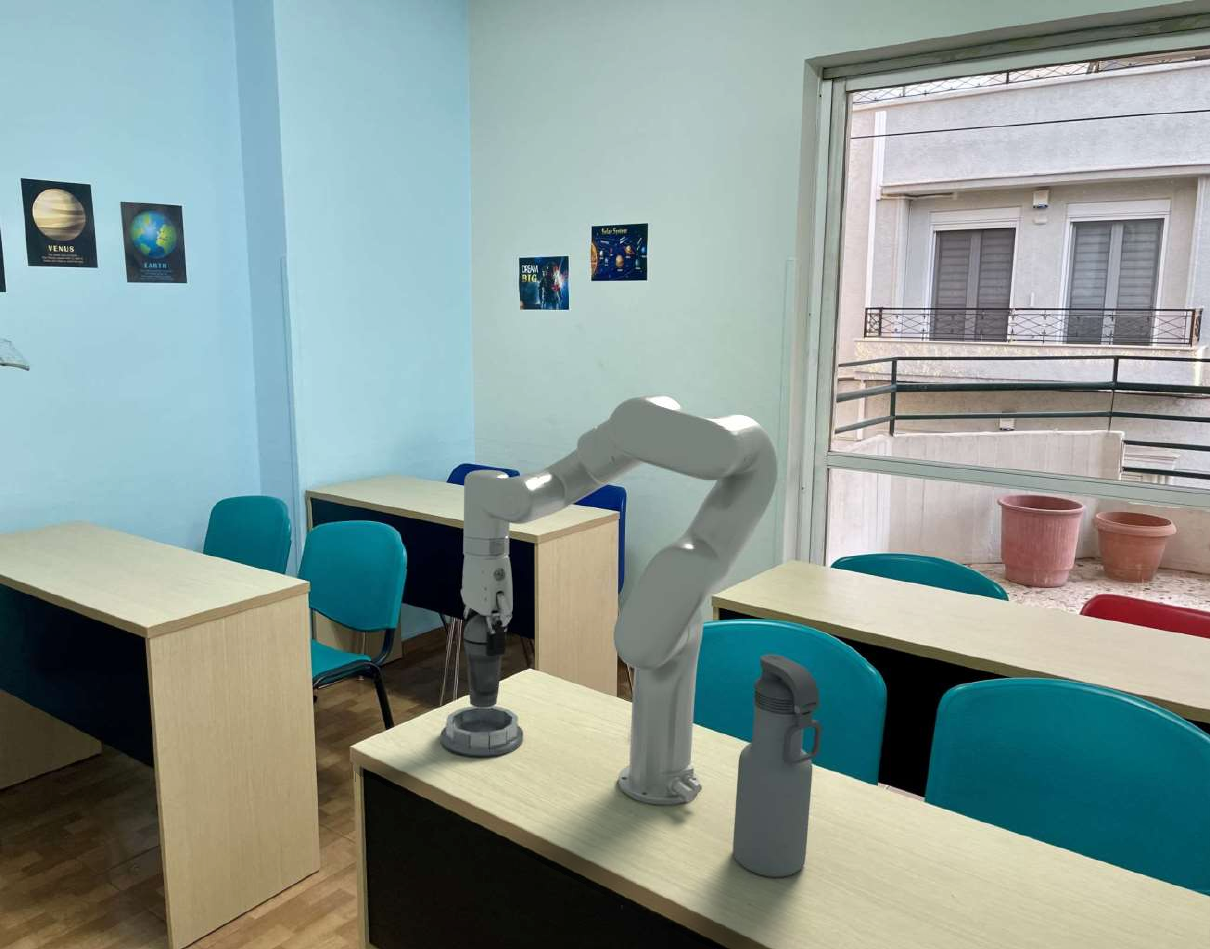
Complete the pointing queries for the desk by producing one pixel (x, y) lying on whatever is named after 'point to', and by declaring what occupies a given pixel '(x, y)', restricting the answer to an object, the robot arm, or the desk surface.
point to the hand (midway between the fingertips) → (484, 646)
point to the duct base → (481, 732)
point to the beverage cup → (481, 663)
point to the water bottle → (777, 771)
